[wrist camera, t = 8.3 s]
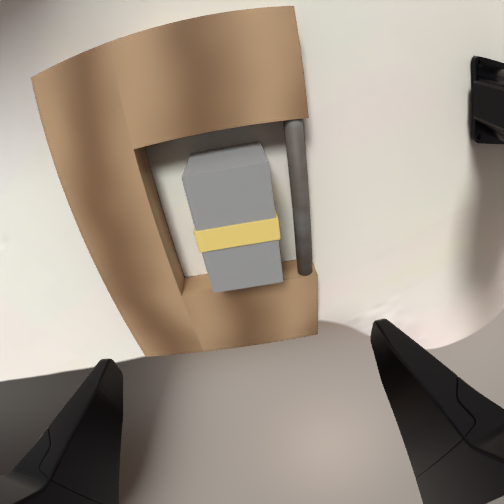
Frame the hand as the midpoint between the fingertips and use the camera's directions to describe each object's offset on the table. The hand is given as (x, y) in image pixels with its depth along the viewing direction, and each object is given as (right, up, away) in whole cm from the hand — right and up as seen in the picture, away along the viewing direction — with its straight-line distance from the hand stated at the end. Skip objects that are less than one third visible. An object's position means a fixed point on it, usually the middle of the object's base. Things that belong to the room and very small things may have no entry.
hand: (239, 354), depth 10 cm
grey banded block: (-1, +6, +9) cm, 11 cm away
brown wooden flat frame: (-3, +6, +9) cm, 11 cm away
